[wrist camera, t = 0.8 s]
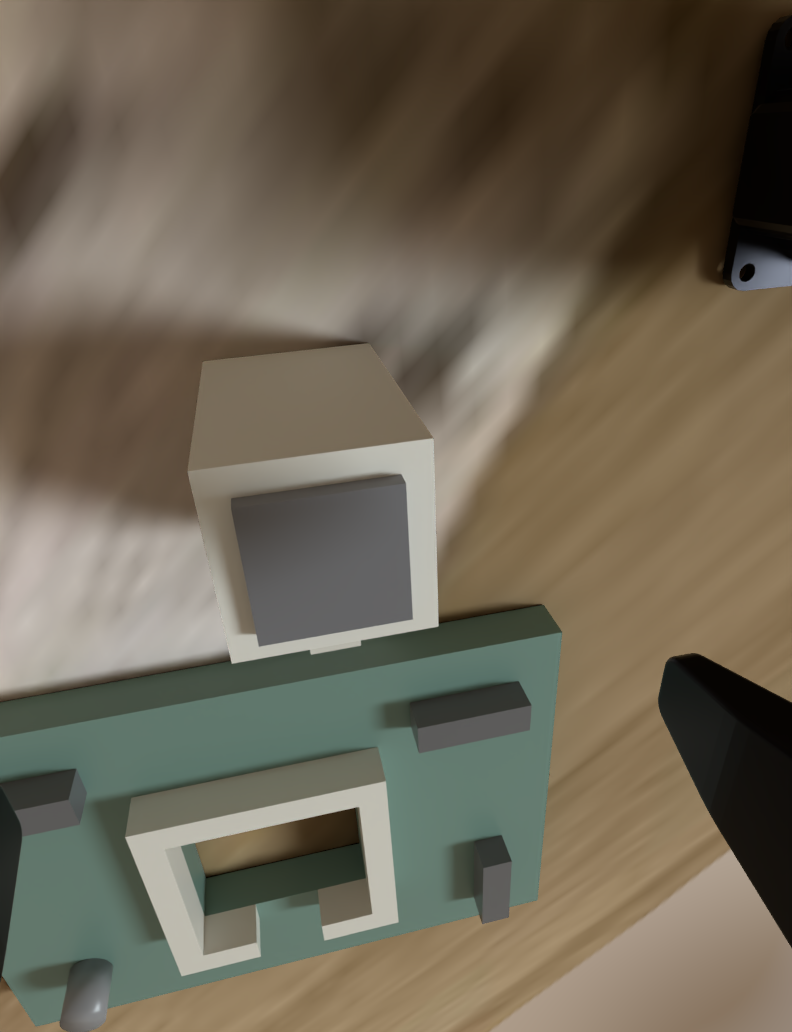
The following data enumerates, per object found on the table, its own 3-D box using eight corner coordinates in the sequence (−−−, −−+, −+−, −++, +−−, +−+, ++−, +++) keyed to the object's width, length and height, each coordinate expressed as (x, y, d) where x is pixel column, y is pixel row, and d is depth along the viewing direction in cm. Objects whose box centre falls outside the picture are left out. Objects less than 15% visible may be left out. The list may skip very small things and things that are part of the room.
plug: (368, 342, 18) (439, 446, 12) (381, 515, 21) (443, 672, 15) (202, 361, 18) (185, 481, 11) (237, 536, 20) (239, 712, 14)
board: (543, 605, 24) (585, 667, 21) (524, 868, 32) (553, 939, 29) (-115, 723, 21) (-171, 816, 18) (45, 985, 29) (24, 1078, 26)
